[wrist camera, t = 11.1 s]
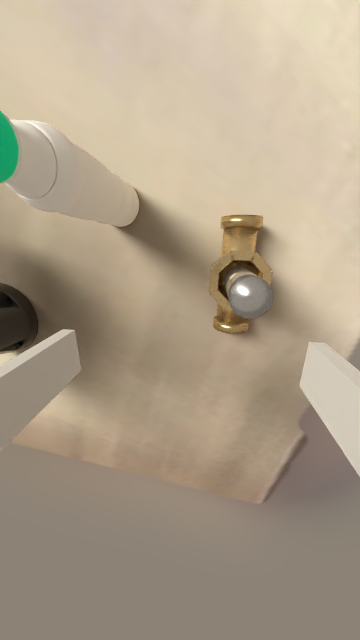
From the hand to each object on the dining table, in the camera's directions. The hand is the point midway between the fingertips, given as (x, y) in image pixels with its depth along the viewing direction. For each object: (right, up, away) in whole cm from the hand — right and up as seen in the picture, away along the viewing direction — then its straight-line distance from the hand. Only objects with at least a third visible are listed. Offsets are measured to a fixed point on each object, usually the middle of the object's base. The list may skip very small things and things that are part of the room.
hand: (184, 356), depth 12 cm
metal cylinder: (+8, +8, +20) cm, 23 cm away
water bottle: (-10, +22, +24) cm, 34 cm away
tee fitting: (+9, +10, +25) cm, 29 cm away
